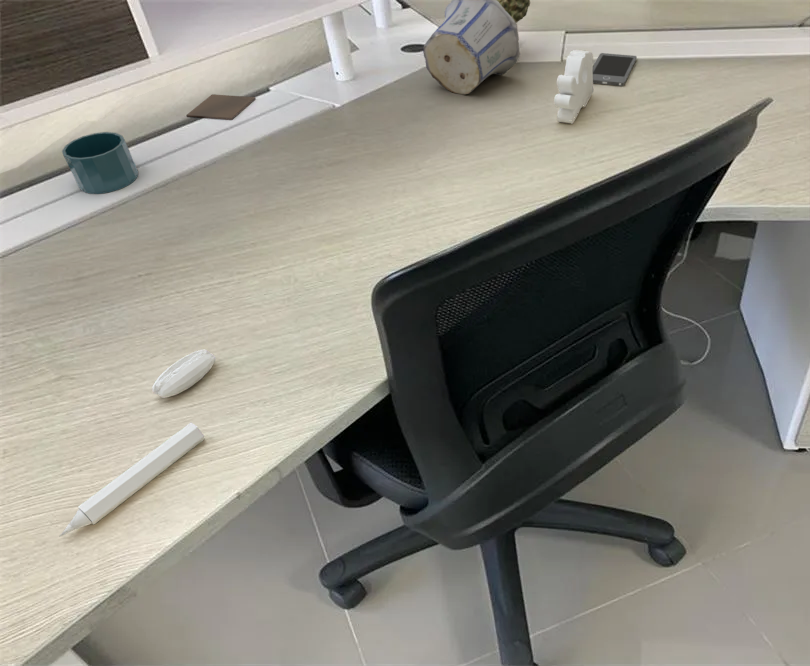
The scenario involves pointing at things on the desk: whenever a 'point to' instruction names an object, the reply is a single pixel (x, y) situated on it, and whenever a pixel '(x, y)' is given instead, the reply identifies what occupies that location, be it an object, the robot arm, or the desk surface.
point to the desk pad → (221, 107)
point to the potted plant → (474, 42)
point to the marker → (135, 477)
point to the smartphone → (612, 69)
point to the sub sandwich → (183, 373)
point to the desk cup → (100, 162)
